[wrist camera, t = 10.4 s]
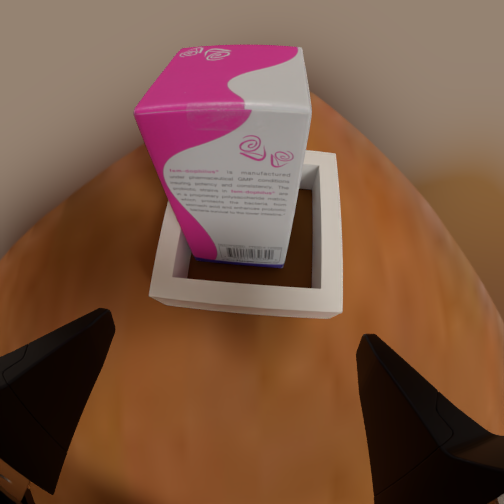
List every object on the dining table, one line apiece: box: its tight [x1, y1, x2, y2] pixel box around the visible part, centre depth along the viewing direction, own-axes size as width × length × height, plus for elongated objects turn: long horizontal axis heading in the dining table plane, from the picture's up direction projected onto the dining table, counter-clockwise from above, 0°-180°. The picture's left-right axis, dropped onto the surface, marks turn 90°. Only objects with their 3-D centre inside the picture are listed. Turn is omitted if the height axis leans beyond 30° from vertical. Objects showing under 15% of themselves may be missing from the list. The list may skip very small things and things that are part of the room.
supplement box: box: [134, 45, 312, 268], centre depth 13 cm, size 6×6×12 cm
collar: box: [149, 150, 343, 319], centre depth 17 cm, size 10×10×3 cm
